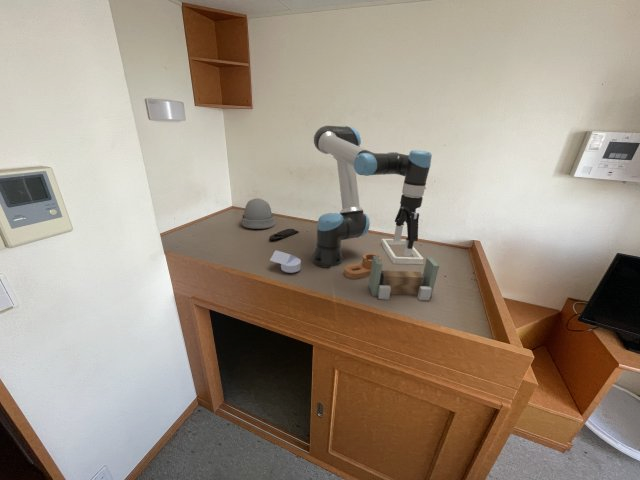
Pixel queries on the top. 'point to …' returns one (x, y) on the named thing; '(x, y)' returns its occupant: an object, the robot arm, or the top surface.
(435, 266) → the green fixture with posts
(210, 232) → the top surface
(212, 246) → the top surface
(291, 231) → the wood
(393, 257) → the frame
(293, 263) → the wedge on round base
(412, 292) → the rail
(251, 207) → the beanie hat
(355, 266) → the bracket
